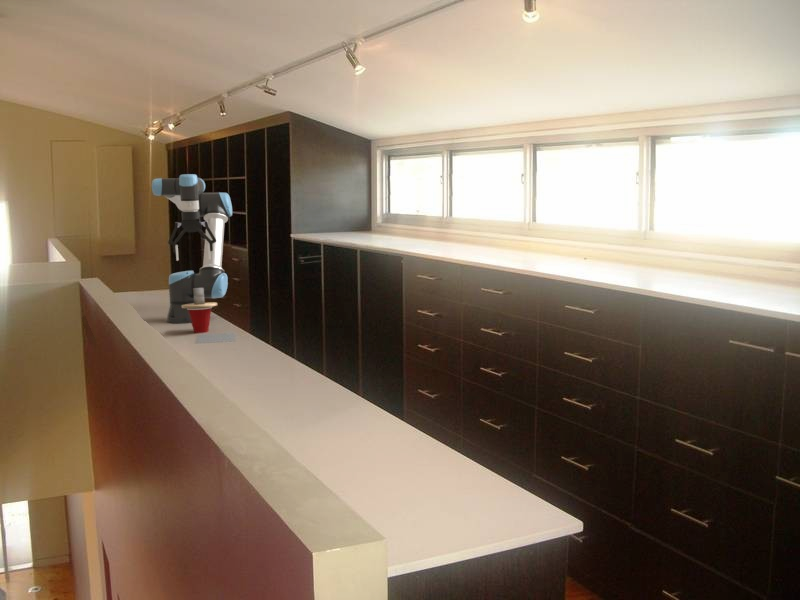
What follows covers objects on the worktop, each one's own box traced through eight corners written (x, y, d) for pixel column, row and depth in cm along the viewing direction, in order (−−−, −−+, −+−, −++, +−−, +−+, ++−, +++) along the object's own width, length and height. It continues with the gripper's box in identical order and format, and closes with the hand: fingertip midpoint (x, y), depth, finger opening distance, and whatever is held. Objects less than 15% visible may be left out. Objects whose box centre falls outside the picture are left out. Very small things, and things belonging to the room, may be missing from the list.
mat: (197, 337, 339) (197, 334, 339) (236, 335, 342) (236, 332, 342) (195, 345, 323) (195, 343, 322) (235, 343, 325) (235, 341, 325)
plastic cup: (211, 330, 354) (210, 303, 352) (215, 334, 344) (214, 307, 342) (186, 332, 350) (185, 305, 348) (190, 337, 340) (188, 309, 338)
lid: (183, 306, 351) (182, 288, 350) (218, 304, 353) (217, 286, 353) (180, 309, 336) (178, 290, 335) (216, 306, 339) (215, 288, 338)
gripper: (159, 212, 336) (163, 262, 340) (220, 210, 341) (223, 259, 345) (160, 210, 343) (164, 259, 347) (220, 208, 348) (222, 257, 353)
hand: (193, 259), depth 347 cm, fingers open, 13 cm apart
